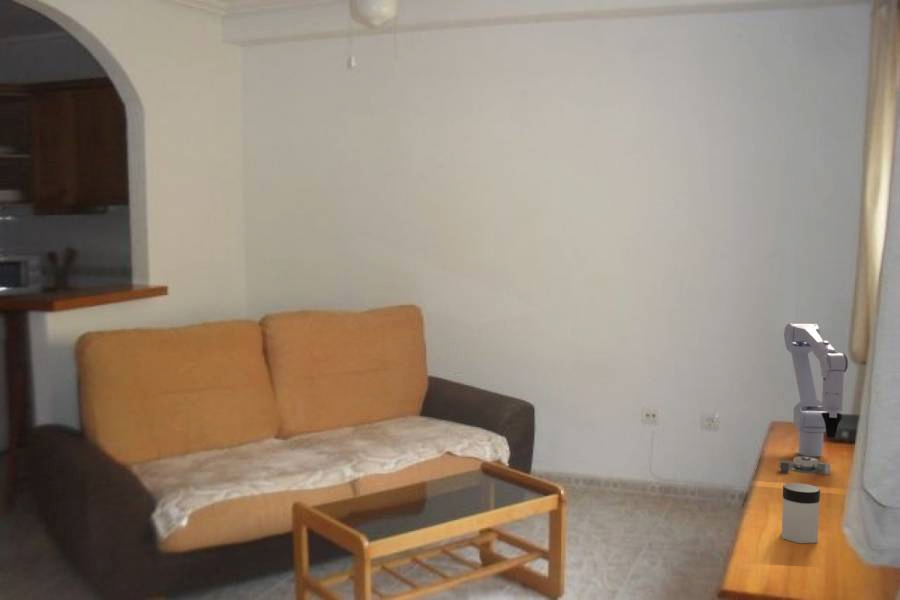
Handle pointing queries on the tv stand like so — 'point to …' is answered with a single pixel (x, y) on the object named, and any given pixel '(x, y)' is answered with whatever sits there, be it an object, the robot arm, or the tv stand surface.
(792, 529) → the jar
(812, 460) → the cover
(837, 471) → the tv stand surface
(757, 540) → the tv stand surface
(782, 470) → the stacked blocks
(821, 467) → the turntable
